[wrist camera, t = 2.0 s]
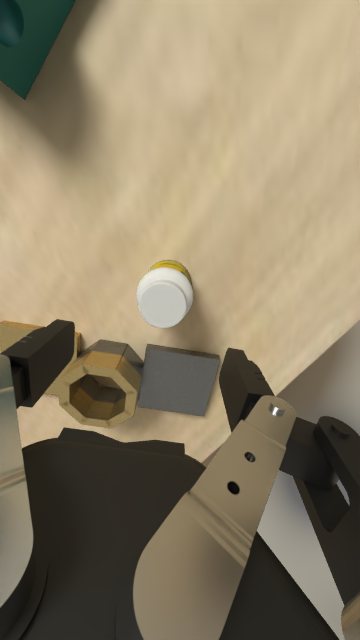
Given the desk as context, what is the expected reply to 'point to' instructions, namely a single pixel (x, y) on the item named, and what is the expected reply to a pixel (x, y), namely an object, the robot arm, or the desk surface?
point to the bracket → (28, 38)
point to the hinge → (126, 379)
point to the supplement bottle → (165, 294)
